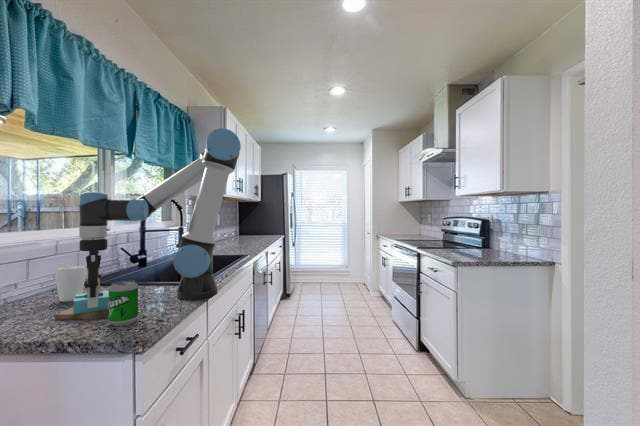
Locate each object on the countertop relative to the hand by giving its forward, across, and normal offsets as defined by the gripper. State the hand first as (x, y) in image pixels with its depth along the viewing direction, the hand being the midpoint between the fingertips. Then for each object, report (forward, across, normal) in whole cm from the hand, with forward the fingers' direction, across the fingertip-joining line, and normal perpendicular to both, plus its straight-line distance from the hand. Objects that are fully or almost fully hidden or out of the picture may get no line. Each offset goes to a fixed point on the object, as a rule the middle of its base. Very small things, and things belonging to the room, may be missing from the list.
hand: (93, 302), depth 103 cm
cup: (+3, +23, +8) cm, 24 cm away
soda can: (+3, -17, -8) cm, 19 cm away
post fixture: (+3, 0, 0) cm, 3 cm away
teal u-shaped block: (+2, 0, 0) cm, 2 cm away
